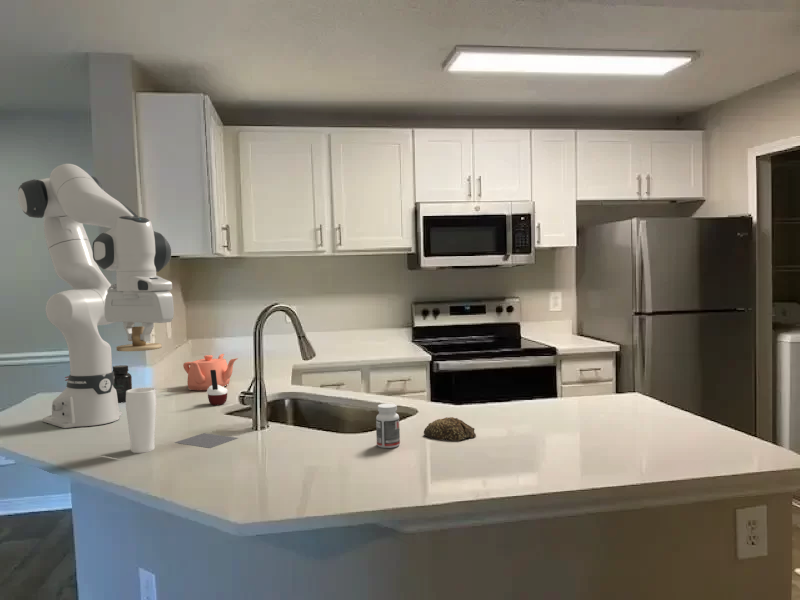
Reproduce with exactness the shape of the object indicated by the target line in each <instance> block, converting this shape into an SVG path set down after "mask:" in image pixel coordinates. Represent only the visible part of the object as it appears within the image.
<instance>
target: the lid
mask: <svg viewBox="0 0 800 600" xmlns="http://www.w3.org/2000/svg"><path fill="white" fill-rule="evenodd" d="M143 330H144V327H143V325H142V326H141V325H140V326H133V327H132V341H131V343H130V344H129V343H128V344H127V343H126V344H121V345H117V346H116V347H115V348H116V352H143V351H144V352H145V351H152V350H154V351H155V350H158V349H162V343H158V342H149V343H148V342H143V341H140V334H143Z"/></svg>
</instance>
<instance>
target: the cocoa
mask: <svg viewBox="0 0 800 600" xmlns="http://www.w3.org/2000/svg"><path fill="white" fill-rule="evenodd" d="M210 372H211V380H212V385H211V386H209V388H208V389H207V390H206V393H207V400H208V401H209V404H210V405H212V406H222V404H223V405H224V404H225V403H226V402H227V399H228V388H226V387H222V386H220V385H217V377H216V370H210Z"/></svg>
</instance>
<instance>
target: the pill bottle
mask: <svg viewBox="0 0 800 600" xmlns="http://www.w3.org/2000/svg"><path fill="white" fill-rule="evenodd" d="M397 406H398V405H397V404H395V403H380V404H378V405H377V412H378V414H377V415H376V416H375V427H376V428H375V429H376V435H375V436H376V446H377V447H378V448H381V449H393V448H398V447H399V446H400V443H401V434H400V433H401V432H400V416H399V414H398V413H397V410H398V407H397Z"/></svg>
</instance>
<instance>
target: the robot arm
mask: <svg viewBox="0 0 800 600" xmlns="http://www.w3.org/2000/svg"><path fill="white" fill-rule="evenodd" d="M17 191H18V192H17V202H18V204H19V206H20V208H21V210H22V211H23V213H24V214H25V215H26V216H27V217H29V218H35V219H36V218H37V219H42V218H43V230H44V238H45V242H46V246H47V249H48V252H49V256H50V258H51V261H52V266H53V269H54V272H55V275H57V276H58V277H59V279H61V280H62V281H64V282H66V283H67V284H68V285H69V286H70V287H71V288H72V289H68V290H63V291H60V292H58V293H54V294H53V295H50V297H49V299H48V300H47V301H46V305H45V314H46V317H47V319H48V321H49V323H51V324H52V325H53V326H55V327H56V329H58V330H59V331H60V333H61V334H62V336H63V338H64V339H65V342H66V345H67V349H68V357H69V371H70V372H69V373H70V374H69V375H68V376H65V377H64V379H65V380H64V381H66V386H65V387H66V388H65V389H64V390H63V391H62V392H61V393H60V394H59V395H58V396H56V397H55V399H53V401H52V403H51V414H50V415H47V416H44V417H43V419H42V422H43V423H48V424H49V425H53V426H56V427H59V428H62V429H67V428H69V429H70V428H75V427H77V428H78V427H88V426H89V427H90V426H98V425H99V426H100V425H104V424H109V423H112V422H116V421H118V420H120V418H121V416H122V415H123V412H122V411H121V410H120V408H119V403H118V399H117V392H116V389H115V388H114V387H113V384H114V372H113V363H112V362H113V359H112V358H113V356H112V355H113V354H112V347H111V344H110V343H109V342H107V341H106V340H104V339H103V338H102V337H101V335H100V331H99V328H98V326H105V325H111V324H113V323H122V324H123V325H122V326H123V329H124V331H125V332H126V334H127V341H128V342H132V327H136V326H135V323H142V326H143V327H144V330H143V334H140V341H143V342H146V343H148V342H150V341H151V334H152V332H153V329H154V327H155V323H156V324H165V323H171V322H172V321H173V319H174V316H175V314H174V313H175V312H174V311H175V310H174V309H175V306H174V297H173V294H172V293H171V291H172V290H173V283H172V281H171V280H168V279H166V278H163V277H162V276H159V275H157V273H158V272H160V271H161V270H163V268H165V267H166V266H167V265H168V264H169V262H170V261H171V257H172V247H171V244H170V243H169V241H168V240H167V239H166V237H165V236H164V235H163V234H161V233H160V232H158V231H156V230H155V231H154V227H153V224H152V221H151V220H150V219H148V218H146V217H142V216H138V215H137V214H136V213H135V212H134V211H133V210H131V209H130V207H129V206H127V205H125V204H124V203H123V202H120V201H119V200H117V199H116V198H114V197H113V196H111V194H108V193H107V192H106V191H104V188H103V186H102V184H101V182H100V180H99V179H98V178H97V177H95V176H93V175H90V174H89V173H88V172H87V171H86V170H84V169H83V168H81V167H80V166H78V165H76V164H73V163H63V164H59V165H58V166H56V167H55V168H53V169H52V170H51V172H50V175H49V177H47V178H46V177H45V178H40V179H36V178H35V179H34V178H33V179H30V180H27V181H24V182H22V183H21V184H20V185H19V187H18V190H17ZM84 225H89V226H97V227H101V228H102V227H103V228H108V229H109V230H107V231H106V232H101V233H100V234H99V235H98V236H96V237H95V239H94V240H93V242H92V245H91V243H90V239H89V237H88V234H87V232H86V228H85V227H84ZM100 268H101V269H102V270H105V271H114V272H115V271H116V273H115V274H116V283H111V282H110V281H109V280H108V279H107V277H106V276H105V275H104V274H103V272H102V270H101V269H100Z"/></svg>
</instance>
